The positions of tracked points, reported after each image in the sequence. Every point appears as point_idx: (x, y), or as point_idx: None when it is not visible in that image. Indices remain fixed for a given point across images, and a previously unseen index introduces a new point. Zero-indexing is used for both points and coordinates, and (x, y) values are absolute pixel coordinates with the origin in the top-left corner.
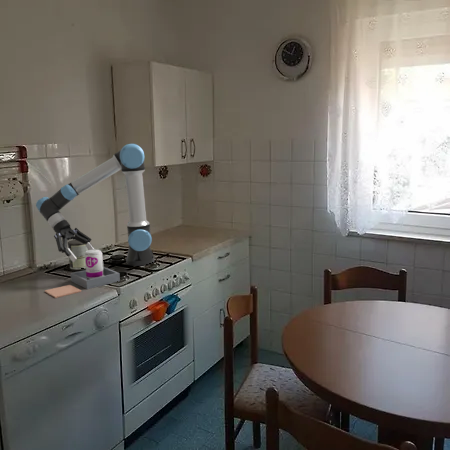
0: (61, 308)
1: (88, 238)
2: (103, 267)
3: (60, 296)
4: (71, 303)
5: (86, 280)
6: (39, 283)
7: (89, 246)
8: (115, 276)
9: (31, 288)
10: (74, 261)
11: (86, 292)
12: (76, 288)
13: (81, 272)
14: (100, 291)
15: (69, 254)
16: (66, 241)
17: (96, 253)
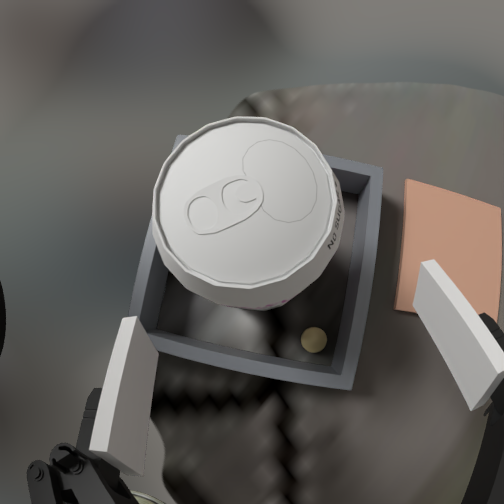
0: (501, 117)
1: (48, 495)
2: (137, 313)
3: (483, 203)
4: (473, 118)
5: (380, 171)
6: (434, 462)
7: (126, 413)
8: None
9: None
10: (414, 299)
11: (393, 155)
12: (408, 221)
13: (283, 364)
14: (345, 116)
15: (482, 315)
16: (500, 492)
17: (265, 122)
